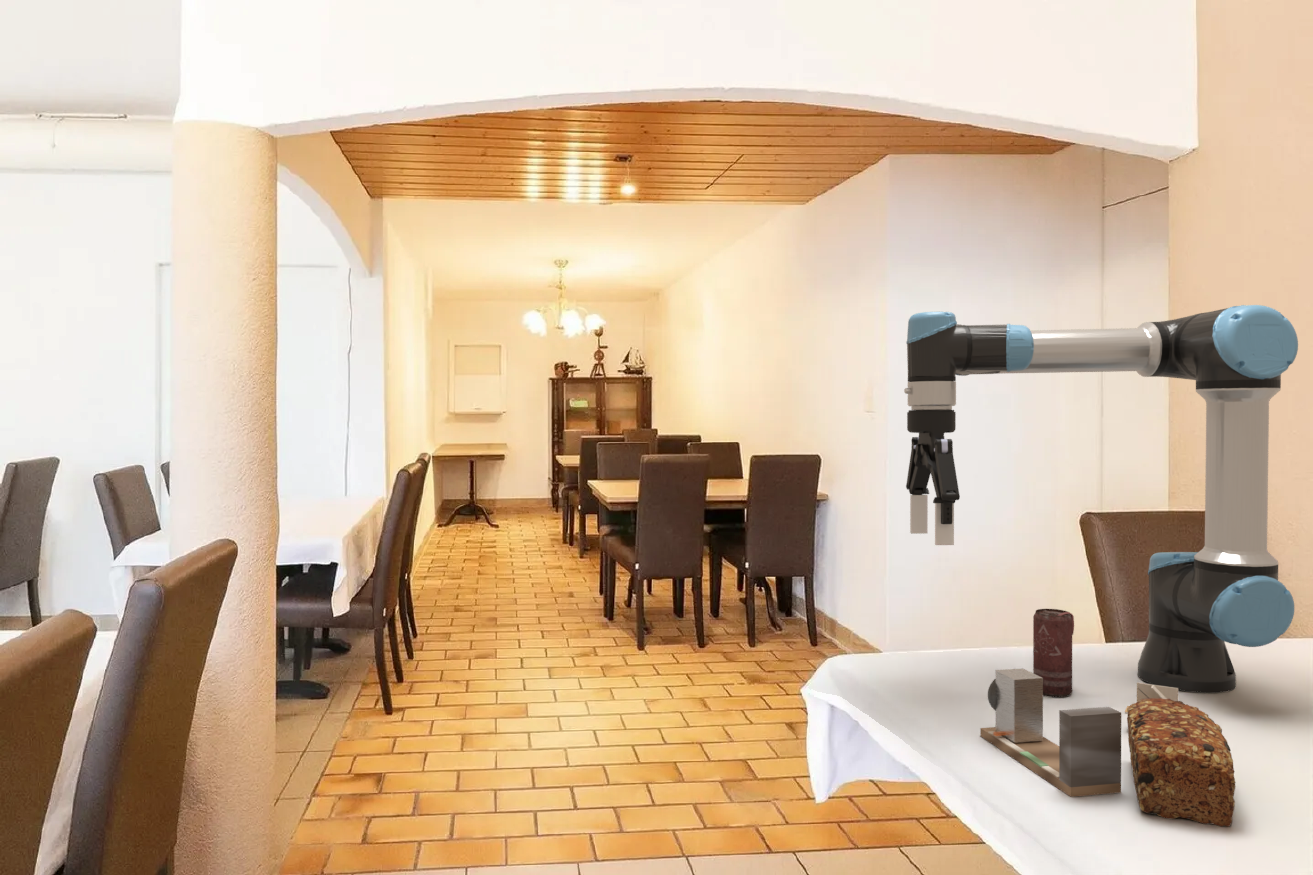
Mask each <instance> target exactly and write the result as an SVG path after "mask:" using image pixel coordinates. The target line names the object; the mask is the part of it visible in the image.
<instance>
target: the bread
mask: <svg viewBox="0 0 1313 875" xmlns="http://www.w3.org/2000/svg"><path fill="white" fill-rule="evenodd" d="M1128 706H1129V707H1128V708H1127V707H1126V708H1127V711H1128V714H1127V718H1126V721H1127V722H1126V723H1127V735H1128V737H1127V739H1128V747H1129V754H1130V757H1129V758H1130V764H1131V769H1132V776H1133V782H1134V788H1135V793H1136V799H1137V802H1138V805H1139V808H1140V810H1141V811H1142V812H1144V813H1146V814H1149V815H1156V816H1159V817H1161V818H1164V819H1169V820H1171V819H1172V820H1173V819H1176V818H1182V819H1188V820H1191V821H1194V822H1197V823H1200V824H1203V825H1207V824H1208V825H1209V824H1210V825H1215V826H1218V827H1224V826H1225V827H1230V826H1231V824H1232V822H1233V814H1234V809H1235V803H1236V801H1235V799H1234V798H1235V797H1234V795H1235V791H1236V783H1237V782H1236V778H1235V775H1234V774H1235V768H1234V760H1233V757H1232V752H1231V747H1230V745H1229V743H1228V740H1227V739H1226V738H1225V736H1224V734H1223V733H1222V732H1223V729H1222V727H1221V726H1220V725H1219V724H1217V723H1216V722H1215V721H1214V720H1213V719H1212V718H1210V716H1209V715H1208V714H1207V713H1206V712H1204V711H1202V710H1201V709H1199V707H1197V706H1193V705H1189V704H1185V702H1183V701H1181V700H1178V701H1174V700H1171V699H1170V698H1169V699H1162V698H1158V699H1157V698H1147V699H1141V700H1139V701H1138V702H1137V701H1136V702H1133V703H1132V704H1130V705H1128Z"/></svg>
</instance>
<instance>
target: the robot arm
mask: <svg viewBox="0 0 1313 875" xmlns="http://www.w3.org/2000/svg"><path fill="white" fill-rule="evenodd" d="M956 317H957V316H956V315H955V313H954V312H950V311H923V312H918V313H914V314H912V315H911V316H910V317H909V318H908V321H907V322H908V323H907V333H906V334H907V335H906V336H907V339H906V341H905V343H906V347H907V348H906V350H907V354H906V355H907V356H906V357H907V358H906V359H907V361H906V362H907V387H905V388H904V390H903V391H904V393H905V395H907V405H908V407H911V408H910V409H909V410H908V411H907V412H906V414H907V416H906V419H907V420H906V421H907V422H906V427H907V428H906V430H907V431H908V432H909V433H912V434H913V433H914V434H918V436H912V438H911V439H910V440H911V450H910V456H909V463H908V464H909V465H908V471H907V478H906V485H905V488H906V490H908V492H909V494H910V506H909V507H910V511H909V513H910V517H909V518H910V520H909V521H910V523H909V525H910V530H909V531H910V532H909V533H910V534H920V535H921V534H924V535H925V534H928V515H929V514H928V512H929V511H928V510H929V509H928V504H929V502H928V496H929V494H930V490H929V488H928V484H929V480H930V478H931V480H932V483H933V486H934V487H933V488H934V492H935V497H934V498H933V501H932V503H933V504H934V544H935V545H934V546H955V503H956V501H959V500H960V490H959V483H958V477H957V472H956V464H955V459H954V451H953V450H954V449H953V447H954V446H953V439H951V438H945V434H947V433H949V434H951V433H954V432H955V431H956V429H957V428H956V425H957V424H956V418H957V417H956V414H957V413H956V411H955V410H954V409H953V407H954V406H956V405H957V382H956V381H957V380H956V376H961V377H963V376H964V377H965V376H969V375H995V374H997V375H999V374H1043V373H1044V374H1046V373H1047V374H1049V373H1057V374H1058V373H1102V372H1106V373H1107V372H1109V373H1111V372H1116V373H1117V372H1136V373H1137V374H1138V375H1139V376H1141V377H1144V378H1149V377H1152V378H1153V377H1155V378H1156V377H1158V378H1159V377H1160V378H1162V377H1163V378H1171V379H1172V378H1174V379H1181V380H1182V379H1184V380H1191V381H1192V380H1193V381H1195V393H1197V394H1198V395H1199V396H1200V397H1201V398H1202V399H1203V400H1204V401H1205V403H1206V405H1205V406H1206V407H1205V410H1206V411H1205V421H1206V422H1205V485H1204V486H1205V489H1204V490H1205V495H1204V496H1205V498H1204V499H1205V500H1204V502H1205V503H1204V546H1203V548H1202V549H1200V550H1199V551H1196V552H1195V551H1194V552H1193V551H1170V552H1169V551H1167V552H1155V553H1154V554H1152V555H1151V556H1150V558H1149V564H1148V571H1147V575H1148V636H1147V637H1146V640H1145V644H1144V647H1143V649H1142V652H1141V654H1140V656H1139V660H1138V662H1137V676H1138V678H1139V679H1141V680H1142V681H1144V682H1146V683H1147V684H1151V685H1159V686H1166V687H1173V688H1178V691H1181V692H1190V693H1200V694H1203V693H1204V694H1207V693H1208V694H1212V693H1213V694H1215V693H1216V694H1218V693H1225V692H1230V691H1233V690H1234V689H1236V686H1237V684H1236V683H1237V682H1236V681H1237V675H1236V671H1235V668H1234V665H1233V663H1232V659H1231V656H1230V653H1229V650H1228V649H1227V645H1226V643H1228V644H1231V645H1238V646H1241V647H1244V648H1245V647H1248V648H1257V647H1259V648H1260V647H1263V646H1266V645H1269V644H1271V643H1274V642H1275V641H1277V640H1278V638H1279V637H1280V636H1282V635H1284V634H1285V633H1286V632H1287V631H1288V629H1289V627H1290V626H1291V624H1292V622H1293V619H1294V616H1295V601H1294V597H1293V596H1292V593H1291V591H1290V590H1288V589H1287V587H1286V586H1285V585H1284V583H1283V582H1281V581H1280V580H1279V561H1278V560H1277V559H1276V558H1275V556H1273V555H1272V554H1271V553H1270V551H1268V513H1269V512H1268V510H1269V508H1268V505H1269V504H1268V503H1269V502H1268V500H1269V499H1268V498H1269V437H1270V434H1269V433H1270V432H1269V430H1270V429H1269V428H1270V427H1269V424H1270V422H1269V421H1270V415H1269V414H1270V405H1269V404H1270V401H1271V399H1272V398H1273V397H1274V396H1276V395H1277V394H1278V393H1279V392H1280V391H1281V384H1282V380H1281V377H1282V374H1283V373H1285V372H1286V371H1287V370H1288V369H1289V367H1290V366H1291V365H1292V364H1294V362H1295V360H1296V357H1297V354H1298V350H1299V340H1298V335H1297V331H1296V329H1295V327H1294V326H1293V324H1292V322H1291V321H1290V320H1289V319H1288V318H1287V317H1286V316H1284V315H1283V314H1282V313H1281V312H1280V311H1279V310H1276V309H1275V308H1273V307H1270V306H1267V305H1261V304H1248V305H1246V304H1245V305H1244V304H1241V305H1233V306H1230V307H1226V308H1222V309H1217V310H1216V309H1215V310H1212V311H1208V312H1201V313H1195V314H1192V315H1188V316H1184V317H1179V318H1173V319H1169V320H1163V321H1162V320H1161V321H1145V322H1142V323H1141V324H1139V325H1138V327H1131V328H1130V327H1129V328H1126V327H1125V328H1123V327H1121V328H1086V329H1085V328H1083V329H1082V328H1081V329H1080V328H1079V329H1076V328H1075V329H1042V330H1041V329H1040V330H1039V329H1038V330H1031V329H1030V327H1028V326H1027V325H1023V324H1011V323H1006V324H974V325H968V324H967V325H965V324H958V322H957V318H956Z"/></svg>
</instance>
